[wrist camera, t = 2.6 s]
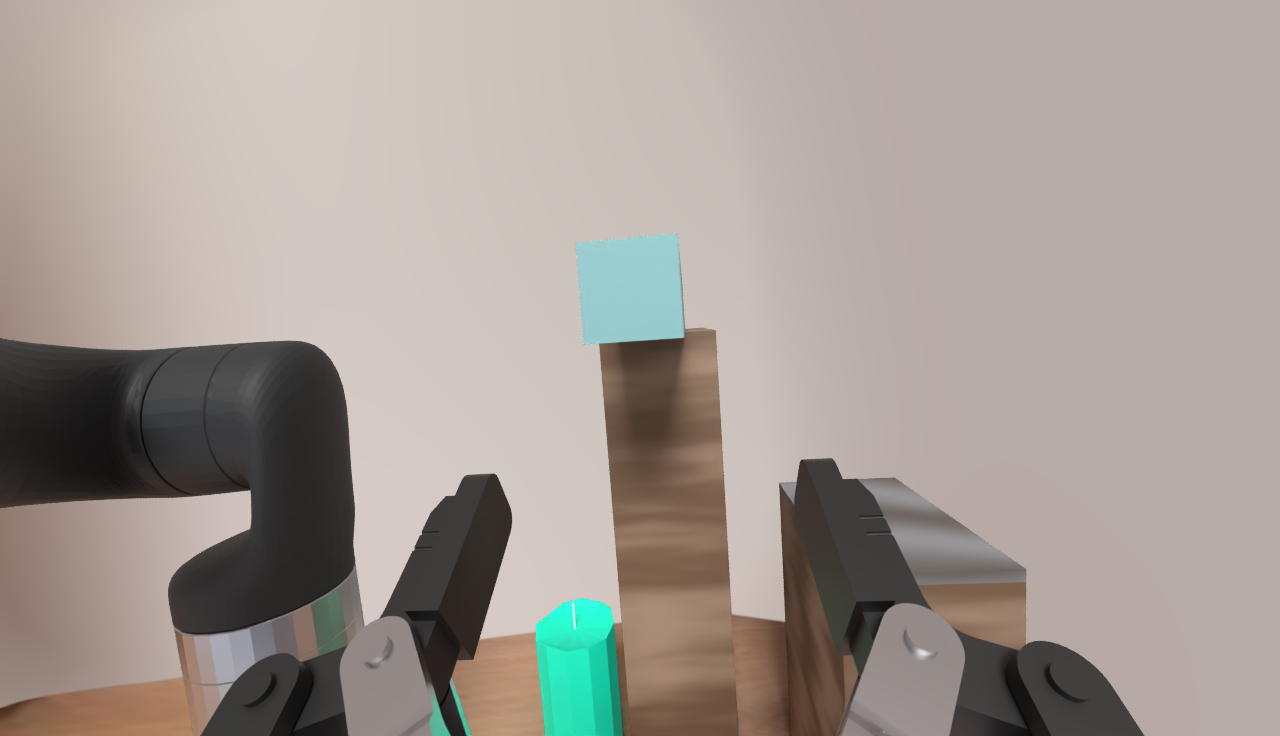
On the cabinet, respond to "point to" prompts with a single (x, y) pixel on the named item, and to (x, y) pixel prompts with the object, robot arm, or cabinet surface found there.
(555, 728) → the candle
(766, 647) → the cabinet surface
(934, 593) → the brown wooden block
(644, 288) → the batten
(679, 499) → the stand
